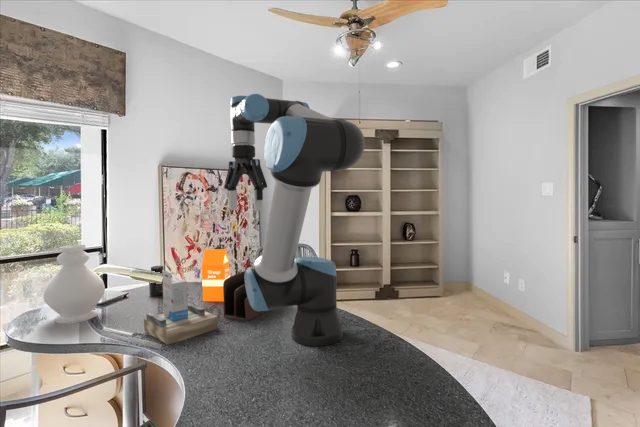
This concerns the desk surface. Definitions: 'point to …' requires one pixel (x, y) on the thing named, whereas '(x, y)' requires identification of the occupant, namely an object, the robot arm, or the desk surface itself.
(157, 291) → the supplement bottle
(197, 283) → the desk surface
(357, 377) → the desk surface
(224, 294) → the letter holder
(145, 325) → the box
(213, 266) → the orange juice
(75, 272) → the decorative vase
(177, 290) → the ink box
